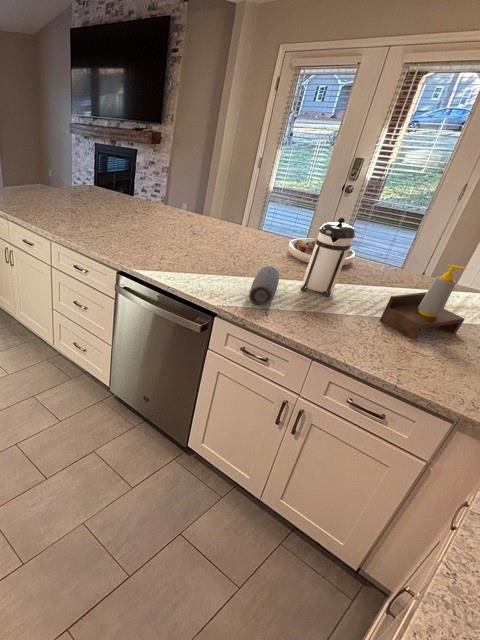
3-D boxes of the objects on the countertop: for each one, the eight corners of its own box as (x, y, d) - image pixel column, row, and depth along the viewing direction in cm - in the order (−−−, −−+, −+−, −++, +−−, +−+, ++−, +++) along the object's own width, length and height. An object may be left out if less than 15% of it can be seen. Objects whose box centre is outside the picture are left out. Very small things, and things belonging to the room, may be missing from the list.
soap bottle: (440, 320, 141) (468, 271, 131) (416, 314, 144) (441, 265, 134) (439, 312, 146) (466, 264, 136) (416, 307, 149) (440, 259, 139)
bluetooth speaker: (253, 285, 175) (259, 262, 169) (276, 290, 172) (283, 267, 166) (244, 306, 158) (250, 282, 152) (269, 312, 154) (277, 287, 149)
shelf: (456, 333, 146) (471, 308, 141) (413, 339, 141) (427, 314, 136) (420, 315, 157) (433, 291, 152) (379, 320, 152) (391, 295, 147)
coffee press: (345, 297, 169) (376, 223, 152) (310, 298, 166) (337, 223, 150) (320, 279, 183) (345, 210, 166) (287, 281, 180) (309, 211, 164)
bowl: (302, 243, 225) (306, 229, 220) (360, 259, 207) (366, 244, 202) (275, 255, 207) (280, 240, 203) (336, 274, 189) (343, 257, 185)
